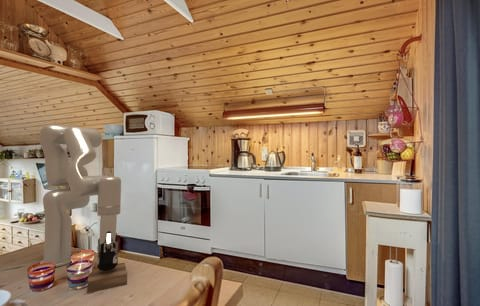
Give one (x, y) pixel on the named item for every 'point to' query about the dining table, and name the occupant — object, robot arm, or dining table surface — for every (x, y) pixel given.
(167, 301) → the dining table surface
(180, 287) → the dining table surface
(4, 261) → the dining table surface
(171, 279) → the dining table surface
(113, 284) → the walnut base block
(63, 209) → the robot arm
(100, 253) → the beverage can
